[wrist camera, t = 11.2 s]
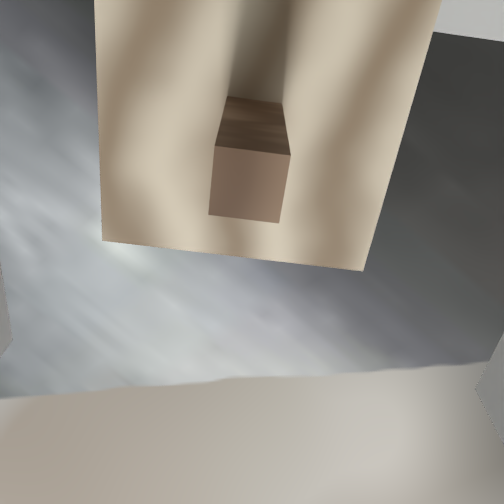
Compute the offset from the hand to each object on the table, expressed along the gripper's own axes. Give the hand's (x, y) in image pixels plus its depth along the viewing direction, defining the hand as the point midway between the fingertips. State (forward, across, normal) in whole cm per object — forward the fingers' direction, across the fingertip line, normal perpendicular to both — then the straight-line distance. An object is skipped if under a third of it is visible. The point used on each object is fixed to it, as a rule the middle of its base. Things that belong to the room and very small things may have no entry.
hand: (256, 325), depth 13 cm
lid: (+20, 0, 0) cm, 20 cm away
